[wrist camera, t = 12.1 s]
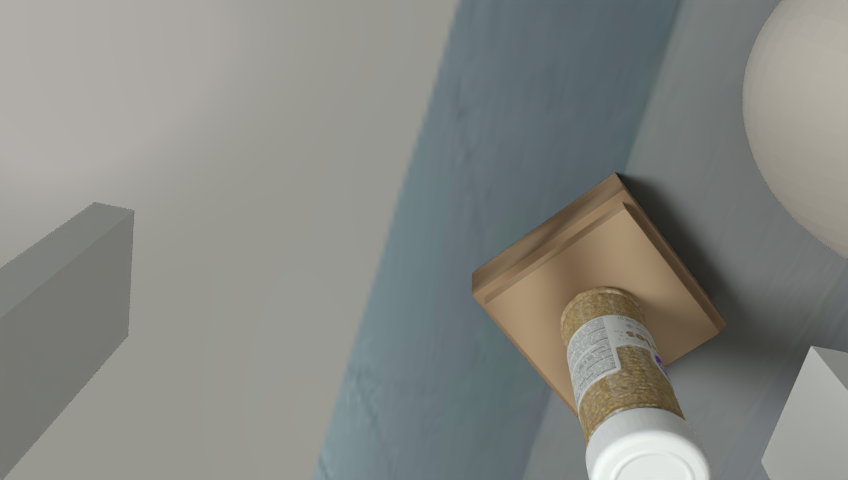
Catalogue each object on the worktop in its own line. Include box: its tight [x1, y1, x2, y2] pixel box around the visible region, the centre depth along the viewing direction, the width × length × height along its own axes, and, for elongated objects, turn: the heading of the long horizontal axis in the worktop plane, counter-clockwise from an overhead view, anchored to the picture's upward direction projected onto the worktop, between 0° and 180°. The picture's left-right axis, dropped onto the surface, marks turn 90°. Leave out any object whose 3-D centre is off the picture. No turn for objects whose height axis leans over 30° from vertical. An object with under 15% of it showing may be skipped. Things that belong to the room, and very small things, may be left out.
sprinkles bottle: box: [560, 287, 711, 480], centre depth 36 cm, size 5×5×14 cm
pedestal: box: [472, 173, 728, 418], centre depth 44 cm, size 10×10×4 cm
